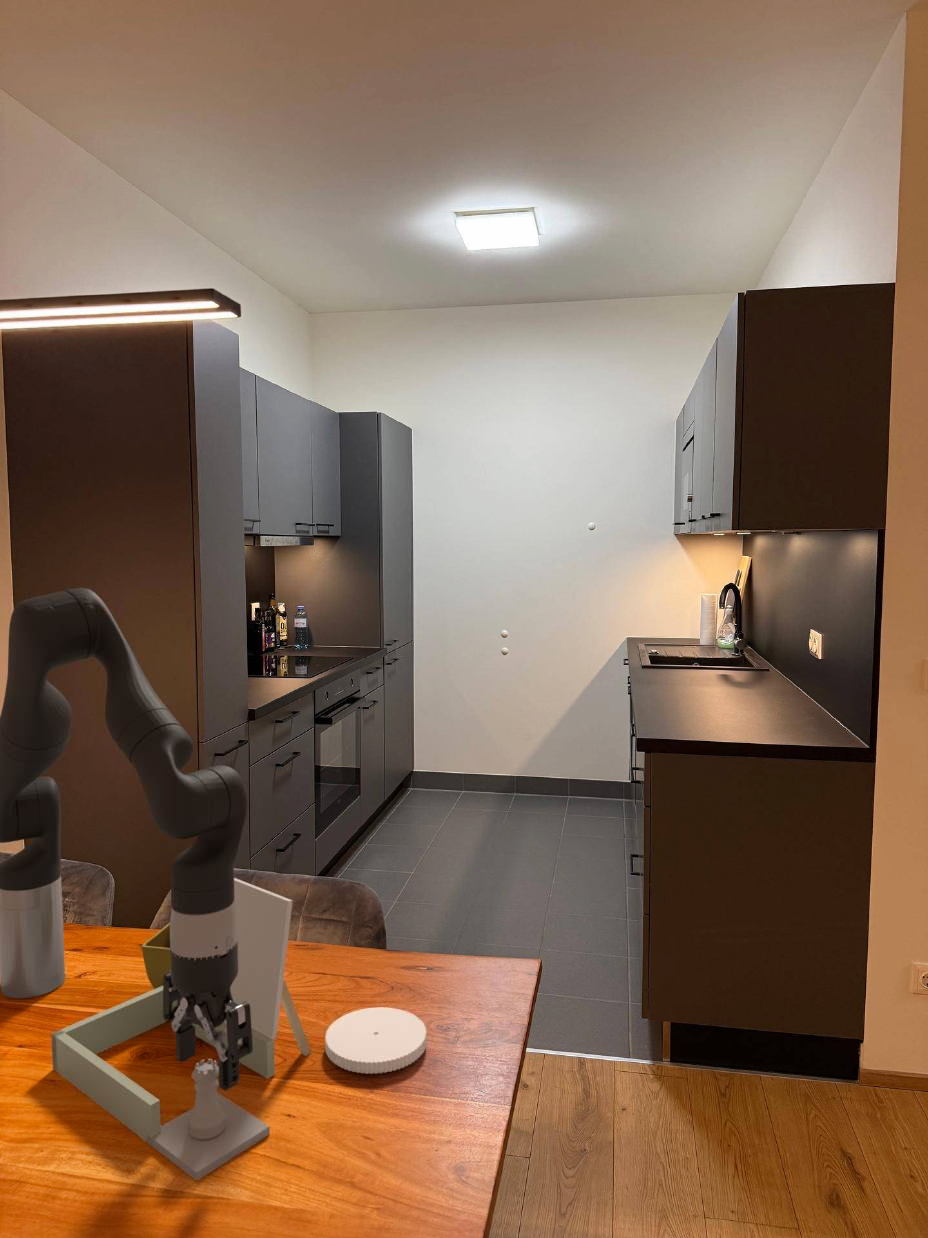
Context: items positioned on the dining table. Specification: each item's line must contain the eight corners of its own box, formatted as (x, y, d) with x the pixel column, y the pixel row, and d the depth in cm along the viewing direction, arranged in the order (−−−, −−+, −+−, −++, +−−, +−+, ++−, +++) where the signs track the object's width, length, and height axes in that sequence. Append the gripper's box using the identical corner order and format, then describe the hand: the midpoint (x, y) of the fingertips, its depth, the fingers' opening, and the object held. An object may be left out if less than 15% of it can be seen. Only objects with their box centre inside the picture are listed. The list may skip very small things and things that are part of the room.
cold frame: (53, 1070, 119) (49, 981, 118) (209, 998, 137) (207, 921, 136) (151, 1147, 103) (148, 1046, 102) (312, 1054, 122) (310, 968, 121)
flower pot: (194, 1008, 134) (192, 950, 134) (141, 1002, 136) (140, 945, 135) (221, 980, 143) (219, 926, 142) (171, 975, 145) (170, 921, 144)
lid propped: (169, 983, 132) (165, 866, 130) (191, 973, 135) (188, 859, 133) (271, 1040, 117) (269, 909, 115) (295, 1028, 120) (292, 899, 118)
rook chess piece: (234, 1122, 106) (233, 1058, 106) (212, 1146, 102) (210, 1079, 101) (203, 1114, 108) (201, 1051, 107) (179, 1137, 103) (177, 1072, 103)
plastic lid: (329, 1088, 115) (329, 1069, 115) (321, 1030, 129) (321, 1013, 128) (435, 1073, 118) (435, 1055, 118) (416, 1018, 132) (416, 1002, 132)
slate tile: (147, 1142, 104) (146, 1134, 104) (219, 1101, 112) (219, 1093, 112) (196, 1181, 98) (196, 1172, 98) (269, 1134, 105) (269, 1126, 105)
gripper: (141, 933, 104) (145, 1064, 106) (213, 971, 95) (216, 1113, 97) (196, 912, 110) (199, 1037, 112) (269, 946, 101) (271, 1081, 103)
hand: (207, 1072), depth 104 cm, fingers open, 8 cm apart
